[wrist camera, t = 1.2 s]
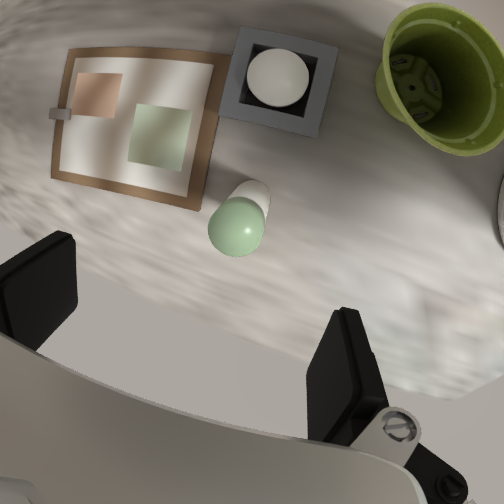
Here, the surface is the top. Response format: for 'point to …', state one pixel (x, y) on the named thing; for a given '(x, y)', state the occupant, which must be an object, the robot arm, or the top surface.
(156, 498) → the robot arm
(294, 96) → the button cap
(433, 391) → the top surface
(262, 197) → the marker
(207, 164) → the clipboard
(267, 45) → the button box
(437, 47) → the plant pot
